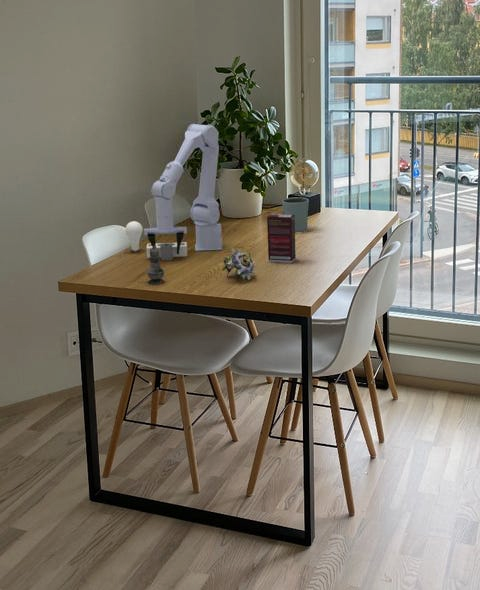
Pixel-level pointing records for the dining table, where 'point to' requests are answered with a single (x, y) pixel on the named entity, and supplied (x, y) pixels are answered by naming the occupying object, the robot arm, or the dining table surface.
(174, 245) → the power strip
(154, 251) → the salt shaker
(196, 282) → the dining table surface
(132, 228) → the lightbulb
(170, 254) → the block
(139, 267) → the dining table surface
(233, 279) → the dining table surface
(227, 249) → the dining table surface
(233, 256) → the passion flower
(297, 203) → the grey green plant pot
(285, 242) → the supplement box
